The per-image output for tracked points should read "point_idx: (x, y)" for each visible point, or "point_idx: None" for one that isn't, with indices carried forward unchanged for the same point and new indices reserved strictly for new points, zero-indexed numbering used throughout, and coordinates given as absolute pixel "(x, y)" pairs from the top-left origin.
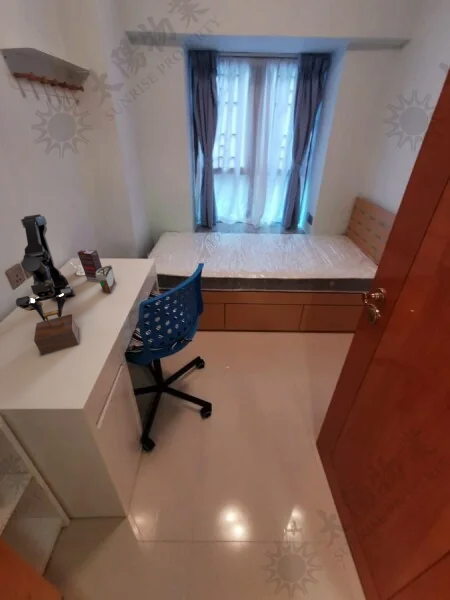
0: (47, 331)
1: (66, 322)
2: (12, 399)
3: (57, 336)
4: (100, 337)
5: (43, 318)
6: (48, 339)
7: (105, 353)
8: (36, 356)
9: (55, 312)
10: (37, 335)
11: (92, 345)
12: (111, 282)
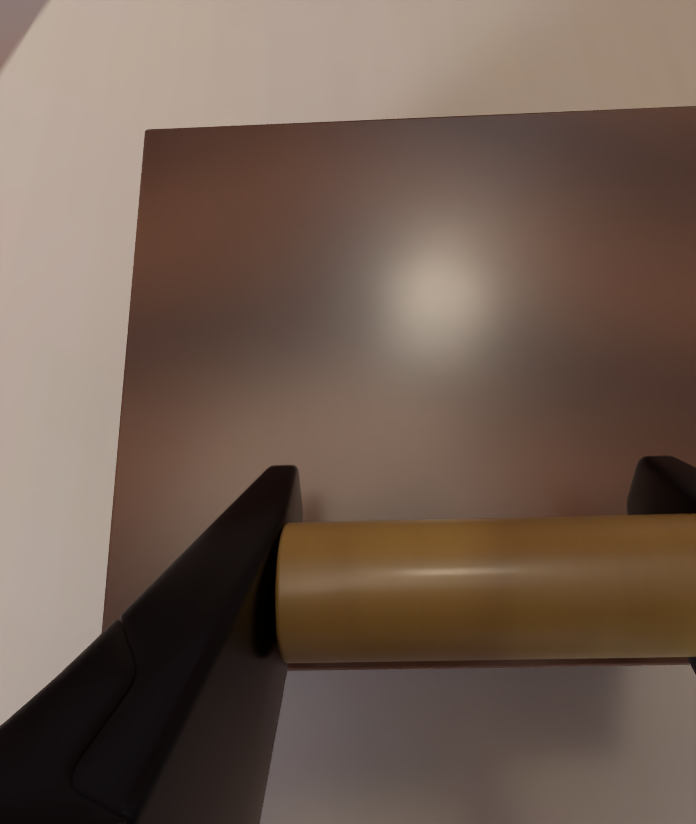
0: (534, 251)
1: (223, 382)
2: None
3: None
4: (2, 292)
5: (682, 477)
6: None
7: (17, 57)
8: None
9: (357, 525)
10: (684, 209)
11: (100, 203)
12: None
